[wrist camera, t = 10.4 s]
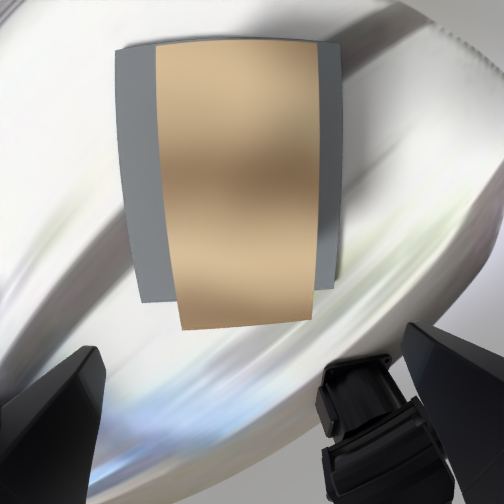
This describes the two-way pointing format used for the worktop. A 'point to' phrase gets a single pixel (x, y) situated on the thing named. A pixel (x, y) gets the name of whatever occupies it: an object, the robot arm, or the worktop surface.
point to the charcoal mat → (149, 171)
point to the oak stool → (240, 178)
